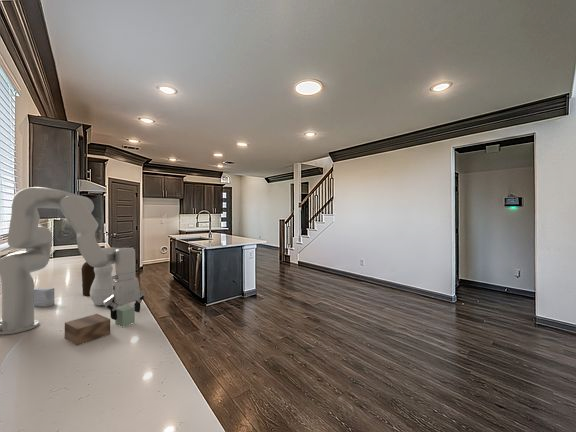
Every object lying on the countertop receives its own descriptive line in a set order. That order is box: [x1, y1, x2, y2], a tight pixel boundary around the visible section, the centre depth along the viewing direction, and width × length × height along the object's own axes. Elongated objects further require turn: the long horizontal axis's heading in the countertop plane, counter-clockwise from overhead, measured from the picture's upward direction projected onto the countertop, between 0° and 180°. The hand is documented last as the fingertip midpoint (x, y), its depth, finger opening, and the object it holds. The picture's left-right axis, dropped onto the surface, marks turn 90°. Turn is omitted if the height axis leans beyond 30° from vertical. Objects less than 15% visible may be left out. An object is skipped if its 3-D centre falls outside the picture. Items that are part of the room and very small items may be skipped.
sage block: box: [114, 304, 136, 328], centre depth 117 cm, size 5×6×7 cm
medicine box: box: [34, 287, 55, 308], centre depth 139 cm, size 8×4×9 cm, turn 84°
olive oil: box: [81, 261, 95, 297], centre depth 159 cm, size 11×11×25 cm
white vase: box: [89, 247, 115, 307], centre depth 143 cm, size 17×12×29 cm
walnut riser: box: [64, 313, 111, 347], centre depth 105 cm, size 11×11×6 cm
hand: (126, 315), depth 117 cm, fingers open, 9 cm apart
